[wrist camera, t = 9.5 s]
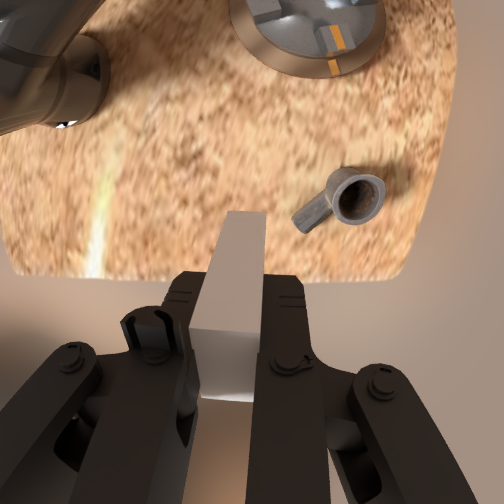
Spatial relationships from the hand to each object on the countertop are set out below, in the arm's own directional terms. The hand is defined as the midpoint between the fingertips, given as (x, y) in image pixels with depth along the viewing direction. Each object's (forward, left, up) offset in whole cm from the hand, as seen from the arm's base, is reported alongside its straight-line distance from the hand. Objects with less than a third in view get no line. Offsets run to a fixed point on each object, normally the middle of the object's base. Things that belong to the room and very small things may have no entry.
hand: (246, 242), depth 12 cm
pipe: (+12, +1, -30) cm, 32 cm away
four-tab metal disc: (-8, +18, -27) cm, 34 cm away
